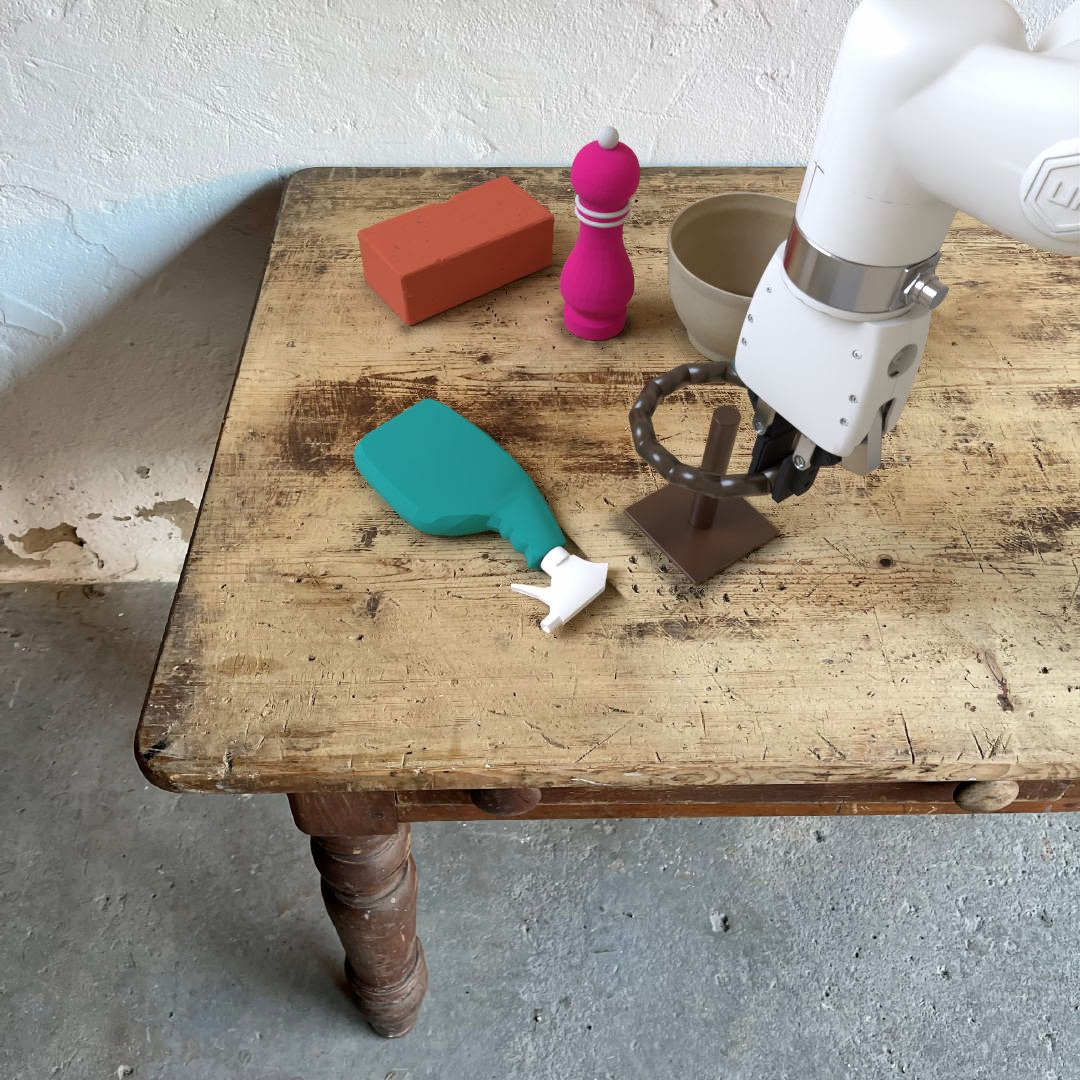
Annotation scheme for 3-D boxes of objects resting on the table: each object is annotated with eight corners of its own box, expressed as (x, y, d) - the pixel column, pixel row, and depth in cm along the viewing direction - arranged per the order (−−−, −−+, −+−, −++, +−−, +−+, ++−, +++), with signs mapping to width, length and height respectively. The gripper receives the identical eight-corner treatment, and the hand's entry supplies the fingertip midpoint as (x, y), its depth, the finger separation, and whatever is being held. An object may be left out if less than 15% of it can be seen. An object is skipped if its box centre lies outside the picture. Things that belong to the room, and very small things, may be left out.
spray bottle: (441, 409, 82) (636, 573, 71) (343, 469, 77) (536, 654, 67) (439, 385, 79) (640, 552, 69) (337, 446, 75) (536, 634, 64)
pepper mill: (554, 340, 88) (560, 146, 72) (563, 294, 92) (570, 102, 76) (627, 348, 87) (650, 154, 71) (632, 301, 91) (655, 108, 75)
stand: (776, 539, 73) (818, 426, 63) (693, 592, 70) (723, 482, 59) (703, 472, 77) (730, 355, 67) (622, 518, 74) (637, 403, 64)
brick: (408, 327, 88) (401, 277, 84) (364, 281, 93) (355, 230, 88) (554, 265, 95) (555, 214, 90) (507, 224, 99) (506, 174, 95)
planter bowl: (681, 404, 82) (699, 309, 74) (636, 296, 92) (647, 200, 83) (844, 382, 84) (880, 287, 76) (783, 278, 94) (809, 183, 85)
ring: (852, 449, 64) (858, 433, 62) (714, 531, 59) (718, 516, 58) (726, 352, 70) (729, 336, 69) (593, 419, 66) (594, 403, 64)
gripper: (1027, 308, 45) (901, 531, 59) (801, 164, 52) (739, 394, 67) (928, 365, 42) (822, 584, 57) (705, 205, 49) (663, 435, 64)
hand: (777, 480), depth 62 cm, fingers closed on ring, 1 cm apart
